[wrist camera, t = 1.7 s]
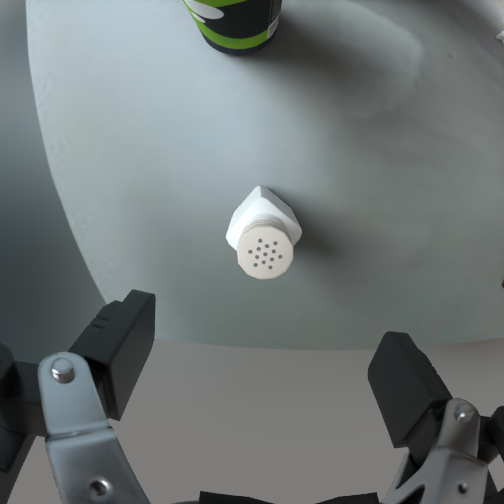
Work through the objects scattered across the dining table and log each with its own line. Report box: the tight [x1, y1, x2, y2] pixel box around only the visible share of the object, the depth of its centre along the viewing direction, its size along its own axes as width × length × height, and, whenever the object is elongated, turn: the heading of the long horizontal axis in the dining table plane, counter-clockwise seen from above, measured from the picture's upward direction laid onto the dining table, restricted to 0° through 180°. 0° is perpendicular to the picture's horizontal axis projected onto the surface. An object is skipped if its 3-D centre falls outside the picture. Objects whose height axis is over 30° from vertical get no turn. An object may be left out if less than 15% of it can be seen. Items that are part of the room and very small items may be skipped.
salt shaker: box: [226, 185, 302, 280], centre depth 21 cm, size 4×4×10 cm
